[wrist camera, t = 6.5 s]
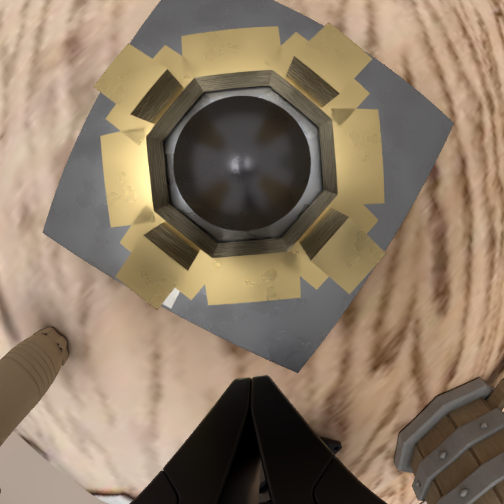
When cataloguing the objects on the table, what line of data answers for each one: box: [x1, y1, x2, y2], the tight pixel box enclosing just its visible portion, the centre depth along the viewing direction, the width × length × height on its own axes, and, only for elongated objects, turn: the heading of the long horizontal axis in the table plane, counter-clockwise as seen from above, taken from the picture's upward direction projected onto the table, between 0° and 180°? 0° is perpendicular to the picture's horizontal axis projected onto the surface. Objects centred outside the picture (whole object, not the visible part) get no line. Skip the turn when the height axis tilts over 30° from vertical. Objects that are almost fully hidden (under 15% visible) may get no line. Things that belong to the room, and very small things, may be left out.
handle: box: [0, 327, 69, 493], centre depth 14 cm, size 5×6×15 cm
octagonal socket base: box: [94, 23, 386, 310], centre depth 14 cm, size 13×13×6 cm
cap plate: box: [43, 0, 454, 373], centre depth 16 cm, size 20×20×4 cm
